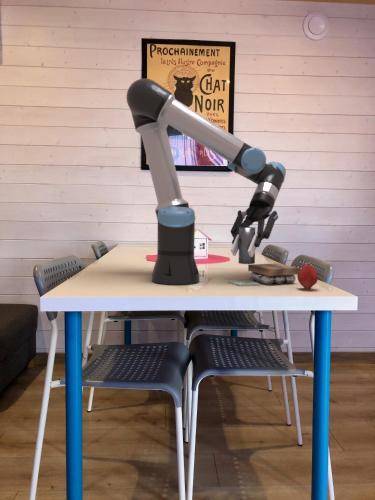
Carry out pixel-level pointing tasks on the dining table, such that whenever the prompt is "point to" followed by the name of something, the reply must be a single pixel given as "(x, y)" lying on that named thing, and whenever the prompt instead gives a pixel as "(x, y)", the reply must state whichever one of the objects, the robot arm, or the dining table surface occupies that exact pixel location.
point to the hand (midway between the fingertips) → (241, 253)
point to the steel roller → (246, 245)
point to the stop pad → (244, 282)
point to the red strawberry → (307, 276)
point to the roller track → (272, 278)
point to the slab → (273, 269)
